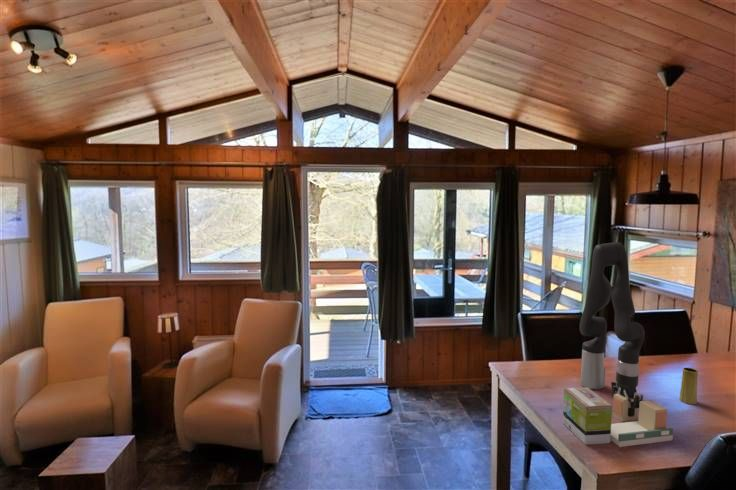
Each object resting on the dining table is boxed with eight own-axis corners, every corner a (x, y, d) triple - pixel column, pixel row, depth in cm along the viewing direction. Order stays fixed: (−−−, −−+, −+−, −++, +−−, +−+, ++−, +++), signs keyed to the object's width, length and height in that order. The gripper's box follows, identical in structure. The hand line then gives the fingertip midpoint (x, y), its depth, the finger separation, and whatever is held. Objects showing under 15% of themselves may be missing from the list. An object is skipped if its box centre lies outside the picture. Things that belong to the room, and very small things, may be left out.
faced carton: (649, 422, 160) (650, 400, 159) (666, 432, 153) (667, 409, 152) (638, 424, 159) (639, 401, 158) (654, 434, 152) (656, 410, 151)
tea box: (561, 423, 164) (563, 387, 162) (586, 422, 165) (587, 386, 163) (584, 445, 149) (586, 405, 147) (611, 444, 150) (613, 404, 148)
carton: (637, 420, 166) (638, 398, 165) (621, 421, 165) (622, 399, 164) (627, 413, 171) (628, 392, 170) (611, 415, 170) (613, 394, 169)
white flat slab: (647, 424, 162) (647, 414, 162) (672, 440, 152) (673, 429, 151) (597, 430, 158) (597, 419, 158) (620, 447, 147) (620, 435, 147)
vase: (693, 399, 184) (695, 368, 183) (699, 405, 178) (701, 373, 177) (677, 397, 186) (679, 366, 185) (682, 403, 180) (684, 371, 179)
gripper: (650, 378, 160) (648, 421, 162) (621, 364, 174) (619, 403, 176) (633, 380, 159) (631, 422, 160) (605, 365, 173) (603, 405, 174)
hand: (625, 412), depth 168 cm, fingers closed on carton, 5 cm apart
